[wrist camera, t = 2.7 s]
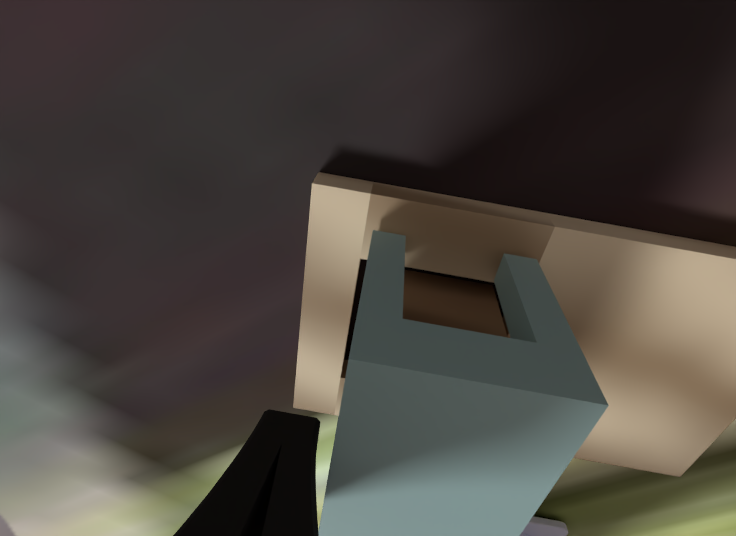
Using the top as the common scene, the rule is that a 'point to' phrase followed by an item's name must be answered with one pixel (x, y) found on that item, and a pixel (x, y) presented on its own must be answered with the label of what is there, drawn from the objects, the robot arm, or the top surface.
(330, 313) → the board
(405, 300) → the block
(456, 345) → the cover
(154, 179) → the top surface
